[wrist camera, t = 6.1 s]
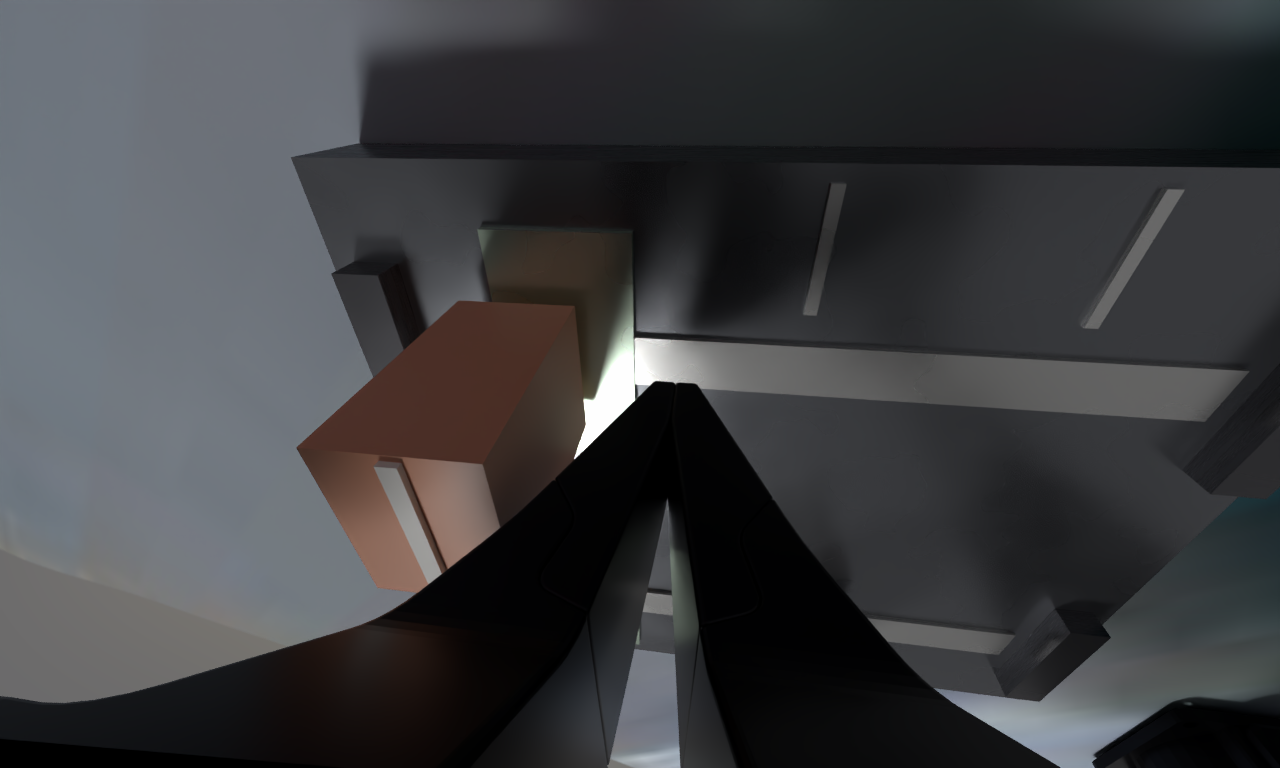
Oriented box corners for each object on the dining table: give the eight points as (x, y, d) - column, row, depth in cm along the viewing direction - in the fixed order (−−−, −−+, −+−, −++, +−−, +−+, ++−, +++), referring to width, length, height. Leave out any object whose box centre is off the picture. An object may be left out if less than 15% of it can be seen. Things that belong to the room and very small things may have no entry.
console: (991, 644, 18) (1031, 725, 16) (498, 585, 20) (472, 649, 18) (1406, 151, 8) (1670, 181, 6) (357, 143, 10) (260, 163, 8)
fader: (586, 424, 11) (519, 612, 7) (487, 417, 11) (373, 593, 7) (574, 306, 9) (479, 469, 5) (458, 300, 9) (290, 452, 6)
